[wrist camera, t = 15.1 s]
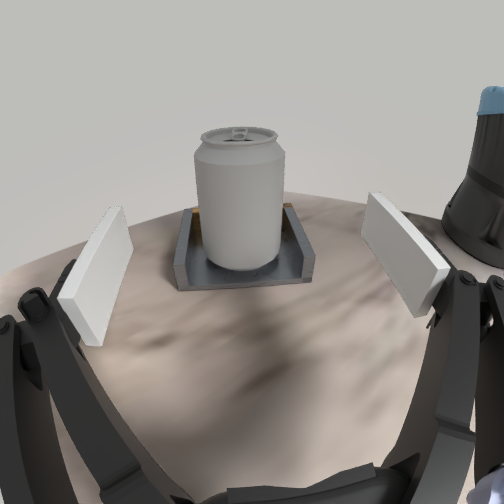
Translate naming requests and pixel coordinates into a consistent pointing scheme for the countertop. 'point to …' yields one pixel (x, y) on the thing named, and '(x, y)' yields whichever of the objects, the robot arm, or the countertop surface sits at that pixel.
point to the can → (240, 196)
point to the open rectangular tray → (216, 277)
